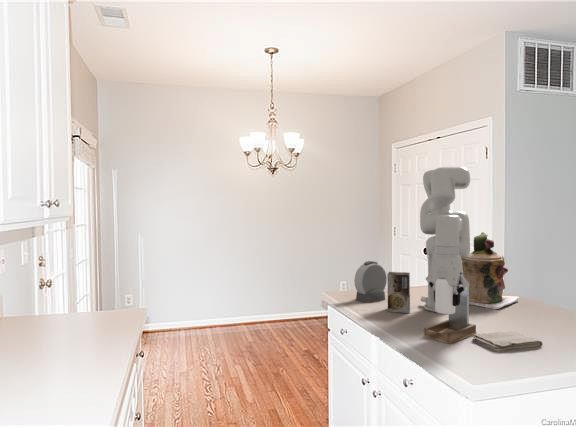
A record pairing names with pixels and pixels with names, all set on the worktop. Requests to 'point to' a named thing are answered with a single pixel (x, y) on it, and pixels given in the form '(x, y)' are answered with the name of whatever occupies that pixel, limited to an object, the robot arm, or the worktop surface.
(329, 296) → the worktop surface
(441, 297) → the can
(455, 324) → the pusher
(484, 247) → the cookie jar
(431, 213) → the robot arm
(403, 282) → the coffee box
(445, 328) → the wooden tray
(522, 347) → the washcloth
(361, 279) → the alarm clock
